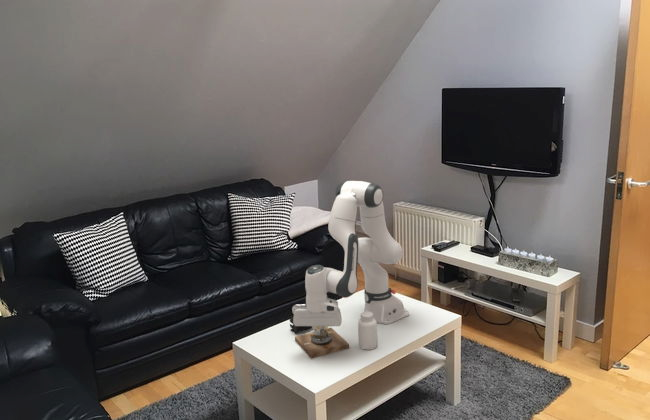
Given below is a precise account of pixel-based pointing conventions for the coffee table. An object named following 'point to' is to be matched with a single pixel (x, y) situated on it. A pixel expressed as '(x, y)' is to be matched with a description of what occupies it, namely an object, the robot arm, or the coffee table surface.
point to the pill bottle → (367, 331)
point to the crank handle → (322, 333)
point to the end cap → (298, 327)
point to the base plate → (320, 350)
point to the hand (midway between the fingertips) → (318, 334)
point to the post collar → (319, 341)
